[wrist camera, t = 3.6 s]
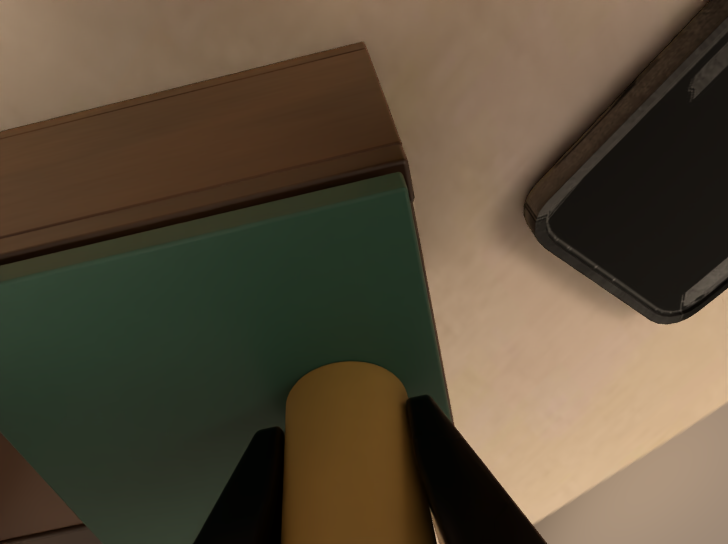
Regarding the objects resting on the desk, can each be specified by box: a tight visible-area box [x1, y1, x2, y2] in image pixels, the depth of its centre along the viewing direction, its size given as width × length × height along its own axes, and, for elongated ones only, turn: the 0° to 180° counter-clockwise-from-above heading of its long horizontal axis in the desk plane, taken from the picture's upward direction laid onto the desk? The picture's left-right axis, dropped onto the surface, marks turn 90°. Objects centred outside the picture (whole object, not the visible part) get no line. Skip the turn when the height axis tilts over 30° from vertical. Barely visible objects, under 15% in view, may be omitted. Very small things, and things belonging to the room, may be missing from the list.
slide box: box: [0, 42, 454, 544], centre depth 14 cm, size 14×8×8 cm, turn 102°
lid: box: [0, 172, 452, 544], centre depth 9 cm, size 8×8×5 cm
